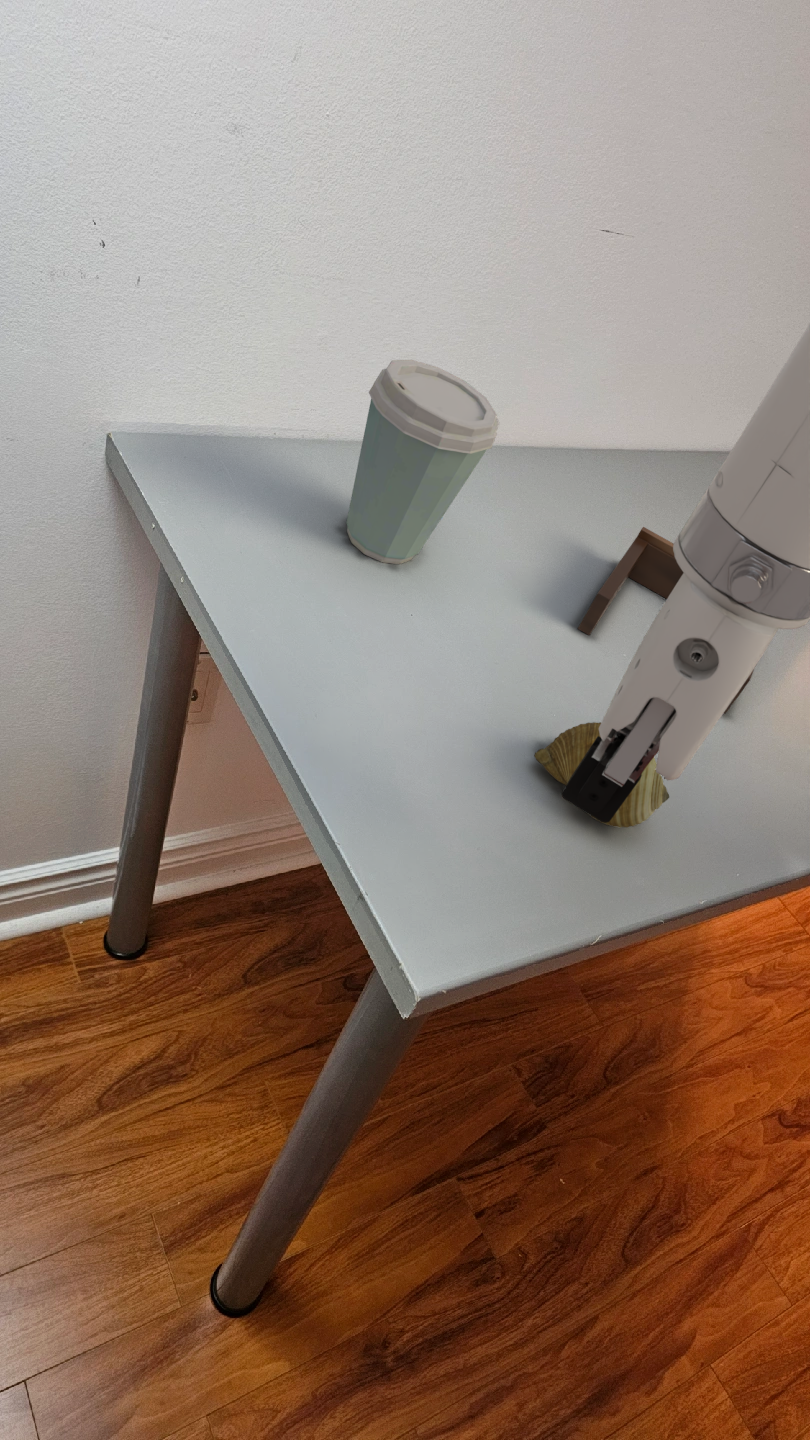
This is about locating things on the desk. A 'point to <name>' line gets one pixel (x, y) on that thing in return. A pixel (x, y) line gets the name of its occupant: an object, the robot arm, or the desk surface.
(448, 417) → the disposable coffee cup
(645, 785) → the seashell
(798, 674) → the desk surface
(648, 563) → the frame
